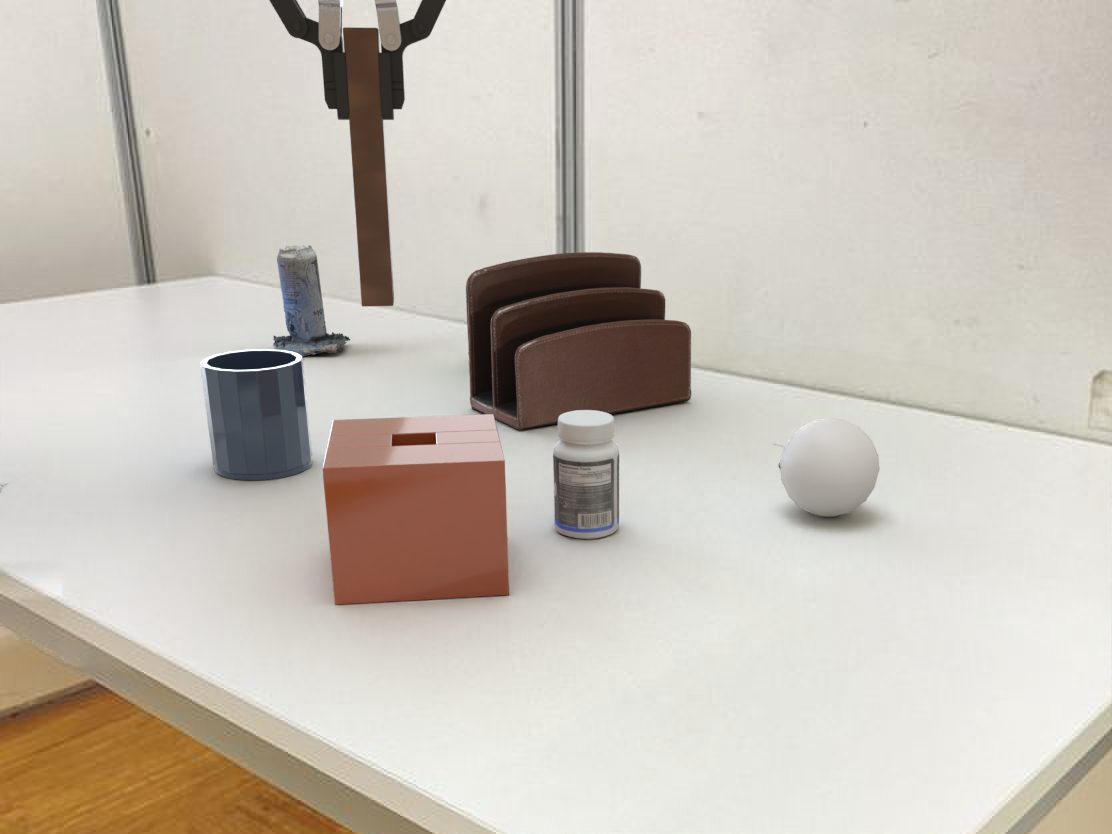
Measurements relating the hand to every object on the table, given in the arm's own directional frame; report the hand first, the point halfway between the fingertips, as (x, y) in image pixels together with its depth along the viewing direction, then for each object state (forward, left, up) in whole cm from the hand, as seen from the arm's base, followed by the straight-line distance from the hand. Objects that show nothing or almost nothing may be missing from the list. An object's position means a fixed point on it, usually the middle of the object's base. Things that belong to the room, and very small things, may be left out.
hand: (365, 118), depth 76 cm
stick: (0, 0, -11) cm, 11 cm away
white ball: (+32, +5, -29) cm, 43 cm away
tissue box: (+2, -3, -28) cm, 29 cm away
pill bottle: (+14, +3, -29) cm, 32 cm away
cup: (-11, +22, -28) cm, 38 cm away
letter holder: (+18, +38, -29) cm, 51 cm away
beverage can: (-10, +67, -29) cm, 74 cm away
